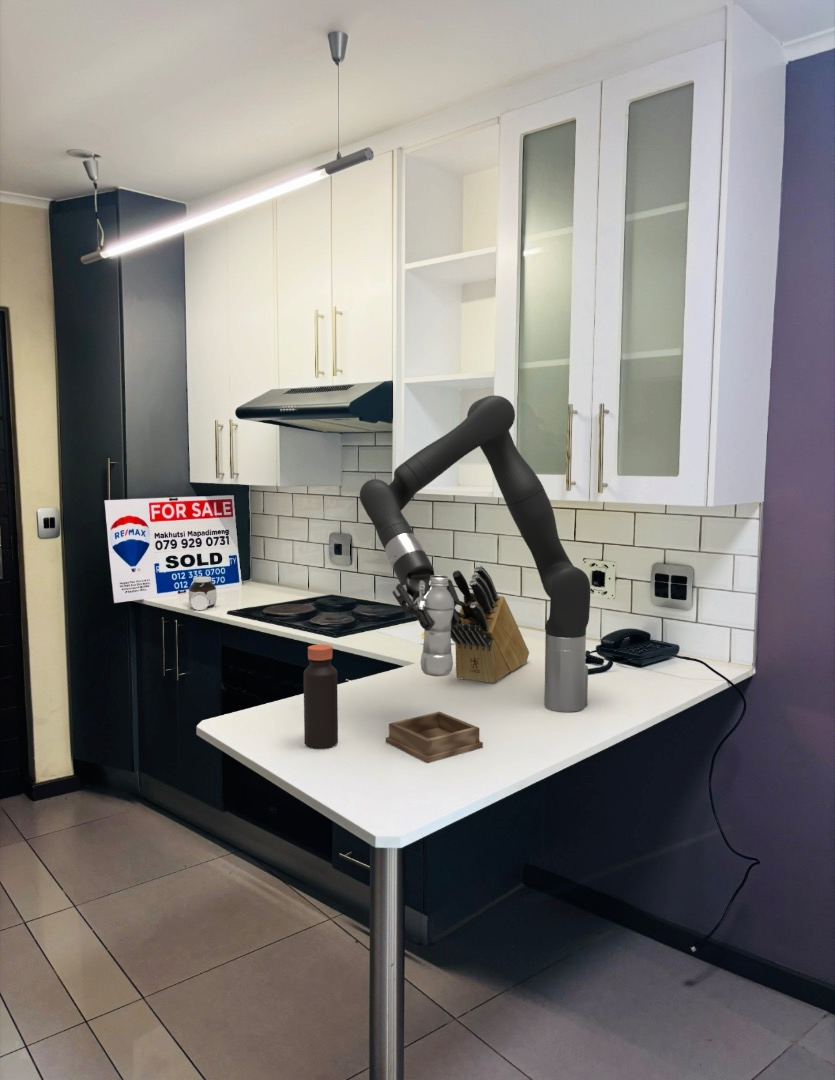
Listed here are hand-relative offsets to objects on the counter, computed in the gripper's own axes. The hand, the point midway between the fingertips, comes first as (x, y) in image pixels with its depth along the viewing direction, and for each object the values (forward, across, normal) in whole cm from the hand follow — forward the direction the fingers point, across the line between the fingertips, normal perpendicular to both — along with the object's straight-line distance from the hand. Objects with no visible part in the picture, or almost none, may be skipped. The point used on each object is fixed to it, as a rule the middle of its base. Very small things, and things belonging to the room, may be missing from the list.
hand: (442, 626), depth 159 cm
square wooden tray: (+16, 0, +19) cm, 25 cm away
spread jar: (-104, +20, +142) cm, 177 cm away
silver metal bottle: (+6, 0, +9) cm, 11 cm away
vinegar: (+7, -18, +29) cm, 35 cm away
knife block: (-8, +44, +43) cm, 62 cm away
